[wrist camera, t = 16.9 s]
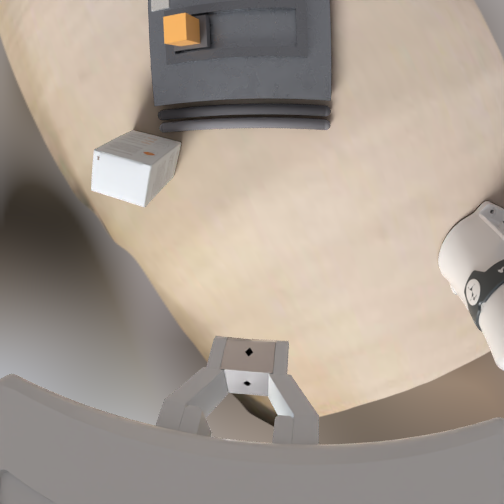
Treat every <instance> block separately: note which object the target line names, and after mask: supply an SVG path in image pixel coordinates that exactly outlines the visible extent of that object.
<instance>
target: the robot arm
mask: <svg viewBox="0 0 504 504" xmlns="http://www.w3.org/2000/svg"><path fill="white" fill-rule="evenodd" d="M491 210H492V211H491ZM490 211H491V212H490ZM438 263H439V269H440V272H441V274H442V275H443V276H444V277H445V278H446V279H447V281H448V282H449V283H450V287H451V290H452V292H453V293H454V294H455V295H458V296H459V297H460V299H461V300H462V302H463V303H464V305H465V306H466V308H467V309H468V311H469V312H470V314H471V316H472V318H473V321H474V323H475V324H476V326H477V328H478V329H479V330H480V331H482V332H483V335H484V337H485V339H486V341H487V343H488V346H489V348H490V350H491V352H492V355H493V357H494V360H495V362H496V364H497V366H498V367H499V368H500V369H502V370H503V371H504V209H503V208H501V207H499V206H497V205H495V204H493V203H491V202H489V201H485V202H483V203H482V204H481V205H480V206H479V207H478V209H477V210H476V211H475V212H474V213H473V214H471V215H470V216H468V217H466V218H465V219H463V220H462V221H460V222H459V223H458V224H457V225H455V226H454V228H453V229H452V230H451V231H450V232H449V233H448V235H447V236H446V238H445V240H444V242H443V244H442V246H441V249H440V253H439V259H438ZM288 349H289V342H288V341H276V340H259V339H252V340H251V339H241V338H232V337H222V336H216V337H215V338H214V341H213V344H212V348H211V352H210V356H209V359H208V363H207V367H206V368H205V367H203V368H202V369H200V370H199V371H198V372H197V373H196V374H194V375H193V376H192V377H191V378H190V379H188V380H187V381H186V382H185V383H184V384H183V385H181V386H180V387H179V388H178V389H176V390H175V391H174V392H173V393H172V394H170V395H169V396H168V397H167V398H165V399H164V402H163V405H162V408H161V411H160V414H159V417H158V420H157V423H156V426H154V425H150V424H146V423H142V422H139V421H135V420H131V419H128V418H124V417H121V416H117V415H114V414H111V413H108V412H105V411H102V410H99V409H96V408H93V407H90V406H87V405H84V404H82V403H79V402H76V401H74V400H71V399H69V398H66V397H64V396H61V395H59V394H56V393H54V392H51V391H49V390H47V389H45V388H42V387H40V386H38V385H36V384H34V383H32V382H29V381H27V380H25V379H23V378H21V377H19V376H17V375H15V374H9V375H7V376H5V377H3V378H1V379H0V504H504V419H503V418H493V419H490V420H487V421H484V422H480V423H477V424H473V425H469V426H466V427H461V428H457V429H453V430H449V431H444V432H439V433H434V434H429V435H424V436H417V437H411V438H404V439H397V440H388V441H379V442H368V443H355V444H354V443H353V444H330V445H328V444H327V445H318V443H319V442H318V441H319V415H318V414H317V412H316V411H315V409H314V408H313V407H312V405H311V404H310V402H309V401H308V399H307V398H306V396H305V395H304V394H303V392H302V391H301V389H300V388H299V386H298V385H297V383H296V382H295V380H294V379H293V377H292V376H291V375H288V374H287V367H288ZM228 393H239V394H251V395H261V396H268V397H269V399H270V401H271V403H272V405H273V407H274V409H275V411H276V412H277V414H278V416H277V417H276V418H275V424H274V433H273V442H272V443H261V442H250V441H240V440H231V439H223V438H217V437H211V430H210V428H209V425H208V423H207V420H206V417H207V416H208V415H209V414H210V413H211V412H212V411H213V410H214V409H215V408H216V406H217V405H218V404H219V403H220V402H221V401H222V400H223V399H224V398H225V396H227V394H228Z"/></svg>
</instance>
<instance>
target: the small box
mask: <svg viewBox="0 0 504 504" xmlns="http://www.w3.org/2000/svg"><path fill="white" fill-rule="evenodd" d="M180 147H181V142H178V141H174V140H171V139H167V138H163V137H159V136H155V135H151V134H147V133H143V132H139V131H135V130H132V131H130V132H128V133H125V134H123V135H121V136H119V137H117V138H115V139H113V140H111V141H110V142H108V143H106V144H104V145H102V146H100V147H98V148H96V149H94V156H93V168H92V184H91V190H92V191H94V192H97V193H100V194H104V195H107V196H110V197H113V198H116V199H120V200H123V201H126V202H129V203H132V204H135V205H138V206H142V207H146V206H147V204H148V203H149V202H150V201H151V200H152V199H153V198H154V197H155V196H156V195H157V194H158V193H159V191H160V190H161V189H162V188H163V187H164V186H165V185H166V184H167V183H168V182H169V181H170V180H171V179H172V178H173V177H174V174H175V169H176V165H177V160H178V156H179V152H180Z"/></svg>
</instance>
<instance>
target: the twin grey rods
mask: <svg viewBox="0 0 504 504" xmlns="http://www.w3.org/2000/svg"><path fill="white" fill-rule="evenodd" d="M330 113H331V110H330V108H329V107H328V106H324V105H306V104H229V105H211V106H198V107H186V108H177V109H168V110H161V111H160V112H159V113H158V118H159V119H160V120H168V119H178V118H189V117H202V116H219V115H248V114H282V115H311V116H328V115H330ZM227 128H295V129H317V130H327V129H329V128H330V122H329V121H328V120H326V119H312V118H285V117H243V118H216V119H200V120H187V121H175V122H166V123H162V124H161V125H160V127H159V129H160V131H161V132H163V133H165V132H176V131H189V130H205V129H227Z"/></svg>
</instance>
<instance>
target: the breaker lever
mask: <svg viewBox="0 0 504 504" xmlns="http://www.w3.org/2000/svg"><path fill="white" fill-rule="evenodd" d="M163 23H164V44H169V45H174V51H177V52H180V51H187V50H195V49H203V48H211V44H210V20H209V16H207V15H201V16H194V17H193V16H191V15H189V14H187V13H180V14H175V15H170V16H165V17H163Z"/></svg>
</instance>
